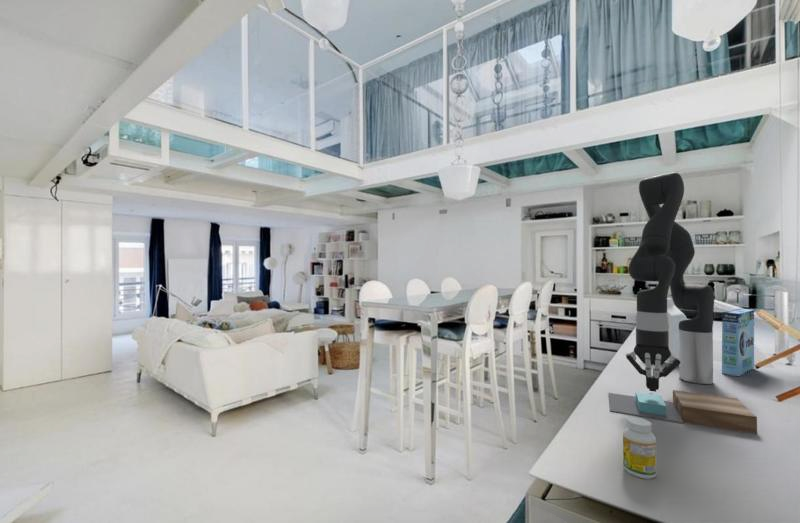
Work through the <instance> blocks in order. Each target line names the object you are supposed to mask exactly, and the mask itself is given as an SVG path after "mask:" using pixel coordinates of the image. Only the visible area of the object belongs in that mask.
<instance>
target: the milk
mask: <svg viewBox="0 0 800 523" xmlns="http://www.w3.org/2000/svg"><path fill="white" fill-rule="evenodd" d="M667 315H668V325H669V350H670V352H671V355H672V356H673V357H675V358H677V359H678V360H679V322H680V321H683V320H688V318H687V315H685V313H684V312H683V311H681V309H678V308H677V307H676V306H675V304H674V302H673V299H672V298H671V297H669V298H668V297H667ZM668 360H669V358H668V359H667V360H666V361H668Z"/></svg>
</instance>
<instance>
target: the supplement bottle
mask: <svg viewBox="0 0 800 523" xmlns="http://www.w3.org/2000/svg"><path fill="white" fill-rule="evenodd" d="M626 426H627V427H625V429H624V430H623V431H622V446H623V447H622V448H623V449H622V453H623V454H622V460H623V461H622V462H623V468H624V470H625V471H626V472H627V473H629V474H630V475H632V476H635V477H637V478H641V479H648V480H649V479H650V480H651V479H654V478H655V477H656V475H657V439H656V436H655V435H654V434H653V433H652V431H653V427H652V426H653V425H652V422H651V421H649V420H647V419H645V418H643V417H638V416H634V417H633V416H630V417H629V416H628V417H627V418H626Z"/></svg>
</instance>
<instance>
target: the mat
mask: <svg viewBox="0 0 800 523" xmlns="http://www.w3.org/2000/svg"><path fill="white" fill-rule="evenodd" d="M663 401H664V403H665V404H666V415H660V414H654V413H647V412H641V411H639V409H638V406H637V403H636V395H635V396H634V395H627V394H626V395H625V394H621V393H614V392H612V393H611V392H608V402H609V411H610V413H616V414H617V413H618V414H623V415H630V416H634V417H639V418H647V419H654V420H661V421H666V422H672V423H678V424H684V423H685V422H683V420H682V418H681V416H680V415H679V413H678V411H677V409H676V408H675V406H674V404H673V401H669V400H663Z"/></svg>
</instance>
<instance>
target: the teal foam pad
mask: <svg viewBox="0 0 800 523" xmlns="http://www.w3.org/2000/svg"><path fill="white" fill-rule="evenodd" d="M635 397H636V403H637V406H638V409H639V411H641V412H647V413H654V414H660V415H666V404H665V403H664V401H665V400H664V398H663V397H662V394H661V395H660V394H655V393H654V394H653V393H646V392H639V391H638V392H637V391H635Z"/></svg>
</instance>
